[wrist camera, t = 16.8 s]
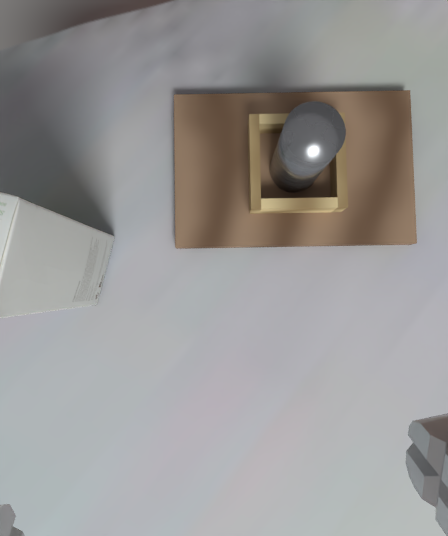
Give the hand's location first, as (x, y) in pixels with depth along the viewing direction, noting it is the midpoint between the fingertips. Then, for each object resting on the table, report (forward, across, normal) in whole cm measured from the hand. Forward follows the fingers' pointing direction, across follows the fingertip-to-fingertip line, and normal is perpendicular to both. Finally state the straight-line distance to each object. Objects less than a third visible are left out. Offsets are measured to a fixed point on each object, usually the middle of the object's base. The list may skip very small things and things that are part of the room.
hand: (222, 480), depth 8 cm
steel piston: (+27, -10, -1) cm, 29 cm away
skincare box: (+28, +10, +5) cm, 30 cm away
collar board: (+28, -10, 0) cm, 30 cm away
